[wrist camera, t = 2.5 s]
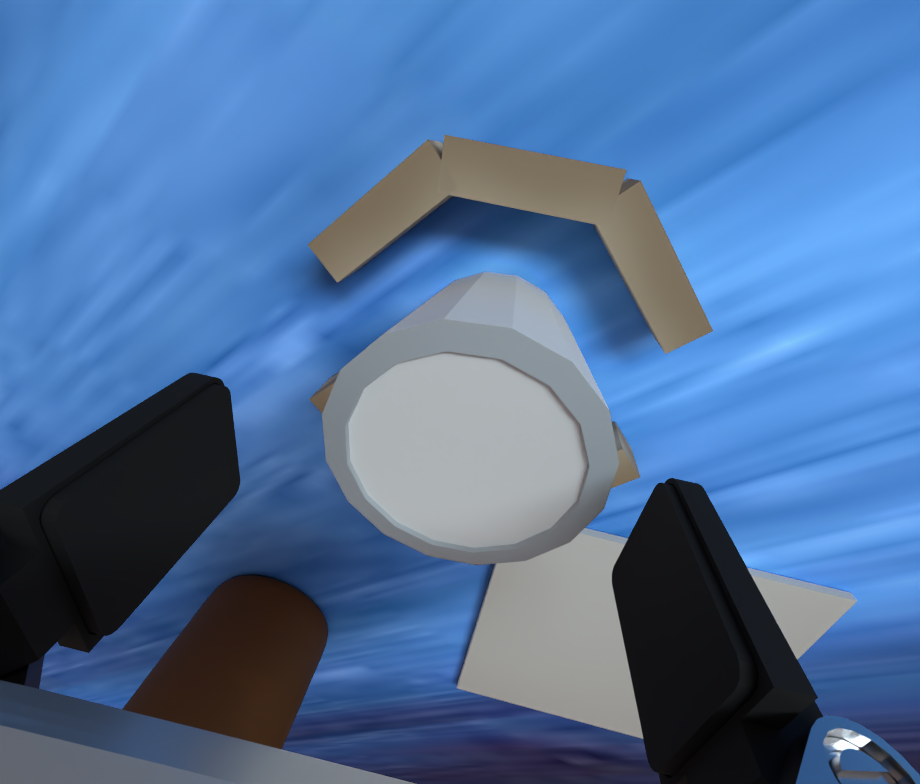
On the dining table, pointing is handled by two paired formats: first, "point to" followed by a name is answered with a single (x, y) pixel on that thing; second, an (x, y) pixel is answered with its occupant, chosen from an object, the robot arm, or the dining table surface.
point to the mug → (239, 663)
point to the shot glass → (474, 426)
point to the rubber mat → (594, 632)
